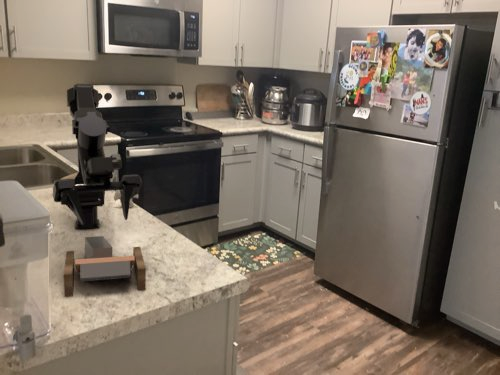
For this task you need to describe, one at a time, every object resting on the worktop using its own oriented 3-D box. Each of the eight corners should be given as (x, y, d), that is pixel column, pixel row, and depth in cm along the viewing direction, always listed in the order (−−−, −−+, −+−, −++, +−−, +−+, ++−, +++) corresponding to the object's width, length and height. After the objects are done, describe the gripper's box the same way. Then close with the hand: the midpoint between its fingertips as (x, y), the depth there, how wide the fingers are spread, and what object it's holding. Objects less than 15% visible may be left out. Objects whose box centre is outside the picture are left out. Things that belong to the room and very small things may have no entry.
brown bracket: (67, 271, 107) (66, 251, 105) (140, 266, 112) (140, 246, 110) (64, 296, 96) (63, 274, 94) (145, 289, 101) (145, 268, 100)
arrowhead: (137, 205, 155) (137, 177, 153) (139, 208, 153) (139, 179, 150) (113, 207, 152) (112, 177, 150) (114, 209, 150) (114, 179, 147)
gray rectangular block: (92, 267, 106) (84, 254, 115) (112, 265, 108) (102, 252, 118) (92, 248, 105) (84, 237, 115) (112, 247, 107) (103, 236, 117)
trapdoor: (77, 286, 104) (77, 268, 105) (132, 281, 108) (131, 264, 109) (75, 278, 95) (75, 259, 96) (135, 274, 99) (134, 255, 100)
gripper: (52, 142, 96) (63, 209, 90) (140, 140, 106) (155, 200, 100) (48, 170, 105) (58, 232, 99) (130, 166, 114) (144, 222, 108)
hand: (105, 221), depth 101 cm, fingers open, 9 cm apart
